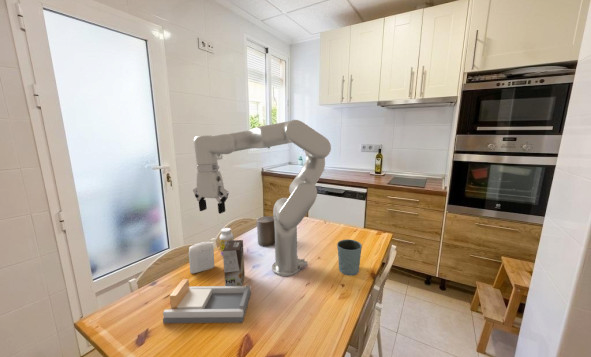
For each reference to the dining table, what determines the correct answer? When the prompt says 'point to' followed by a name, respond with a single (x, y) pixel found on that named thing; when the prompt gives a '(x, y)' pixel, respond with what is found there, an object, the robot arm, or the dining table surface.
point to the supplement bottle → (225, 238)
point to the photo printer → (201, 257)
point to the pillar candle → (266, 231)
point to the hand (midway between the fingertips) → (212, 211)
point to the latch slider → (189, 297)
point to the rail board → (214, 307)
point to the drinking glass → (349, 256)
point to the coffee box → (234, 263)
